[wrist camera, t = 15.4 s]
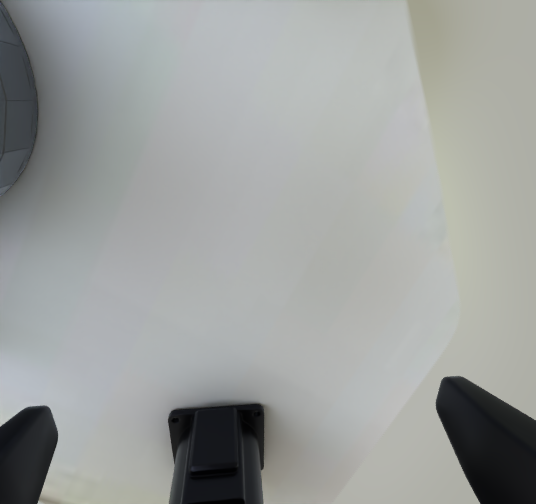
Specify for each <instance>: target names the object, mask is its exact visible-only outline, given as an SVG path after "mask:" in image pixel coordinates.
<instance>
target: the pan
mask: <svg viewBox="0 0 536 504" xmlns="http://www.w3.org/2000/svg"><path fill="white" fill-rule="evenodd" d="M37 118H38V113H37V95H36V89H35V83H34V77H33V73H32V70H31V66H30V63H29V60H28V56H27V53H26V51H25V48H24V46H23V44H22V41H21V39H20V36H19V34H18V32H17V30H16V28H15V26H14V24H13V22H12V20H11V18H10V17H9V15H8V13H7V11H6V9H5V7H4V6H3V4H2V3H1V1H0V196H1V195H3V194H4V193H5V192H6V191H7V190H8V189H9V188H10V187H11V186H12V185H13V184H14V183H15V182H16V180H17V179H18V177H19V176H20V174H21V173H22V171H23V170H24V168H25V166H26V164H27V161H28V159H29V157H30V155H31V152H32V148H33V144H34V140H35V136H36V128H37Z"/></svg>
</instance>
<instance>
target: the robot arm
mask: <svg viewBox="0 0 536 504" xmlns="http://www.w3.org/2000/svg"><path fill="white" fill-rule="evenodd" d="M436 410H437V413H438V415H439V418H440V419H441V422H442V424H443V427H444V429H445V431H446V433H447V435H448V438H449V440H450V442H451V444H452V447H453V449H454V451H455V454H456V456H457V458H458V460H459V463H460V465H461V467H462V469H463V471H464V474H465V476H466V478H467V480H468V482H469V483H470V485H471V487H472V489H473V491H474V493H475V495H476V496H477V498H478V500H479V502H480V504H536V420H534V419H532V418H531V417H529V416H527V415H526V414H524V413H522V412H521V411H519V410H517V409H516V408H514V407H512V406H511V405H509V404H507V403H505V402H504V401H502V400H501V399H499V398H497V397H496V396H494V395H492V394H490V393H489V392H487V391H485V390H484V389H482V388H480V387H479V386H477V385H475V384H474V383H472V382H470V381H469V380H467V379H465V378H464V377H461V376H451V377H444V378H443V379H442V381H441V384H440V388H439V392H438V395H437V399H436ZM256 411H258V412H256ZM168 423H169V430H170V437H171V444H172V451H173V457H174V464H175V467H174V473H173V479H172V486H171V492H170V499H169V504H264V503H263V491H262V479H261V470H262V469H263V468H264V409H263V406H262V405H260V404H251V405H238V406H225V407H211V408H198V409H184V410H174V411H172V412H171V413H170V414H169V419H168ZM57 441H58V431H57V428H56V425H55V422H54V419H53V416H52V412H51V410H50V408H49V407H48V406H32V407H27V408H25V409H23V410H22V411H20V412H19V413H18V414H16V415H15V416H14V417H12V418H11V419H10V420H9V421H7V422H6V423H5V424H3V425H2V426H1V427H0V504H37V503H38V500H39V497H40V494H41V491H42V488H43V485H44V482H45V479H46V476H47V473H48V470H49V466H50V463H51V460H52V457H53V454H54V451H55V448H56V445H57Z"/></svg>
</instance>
